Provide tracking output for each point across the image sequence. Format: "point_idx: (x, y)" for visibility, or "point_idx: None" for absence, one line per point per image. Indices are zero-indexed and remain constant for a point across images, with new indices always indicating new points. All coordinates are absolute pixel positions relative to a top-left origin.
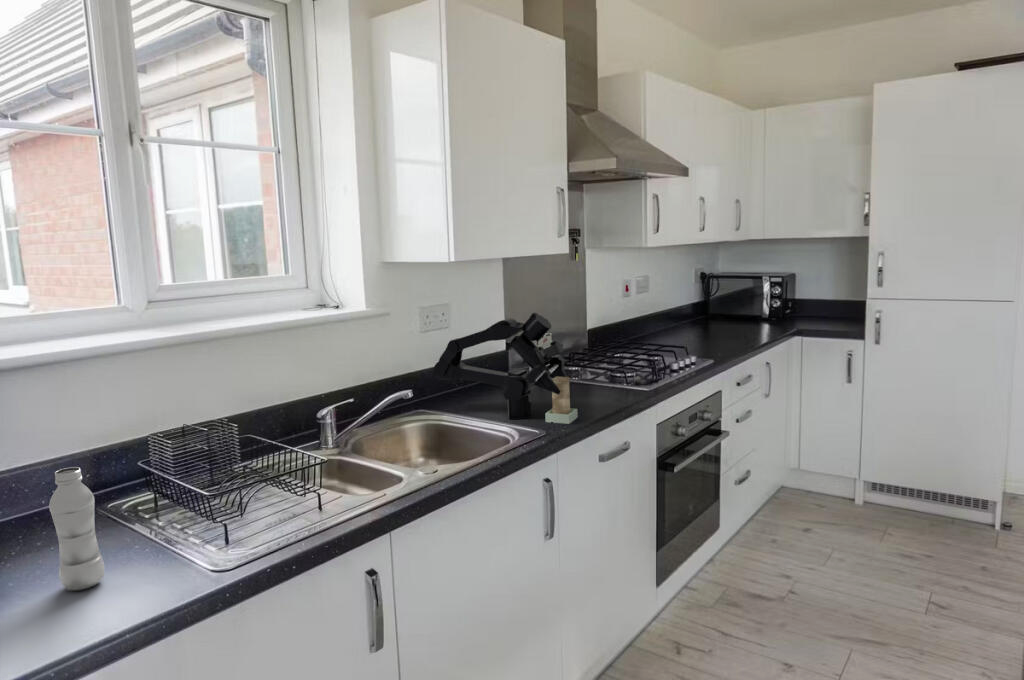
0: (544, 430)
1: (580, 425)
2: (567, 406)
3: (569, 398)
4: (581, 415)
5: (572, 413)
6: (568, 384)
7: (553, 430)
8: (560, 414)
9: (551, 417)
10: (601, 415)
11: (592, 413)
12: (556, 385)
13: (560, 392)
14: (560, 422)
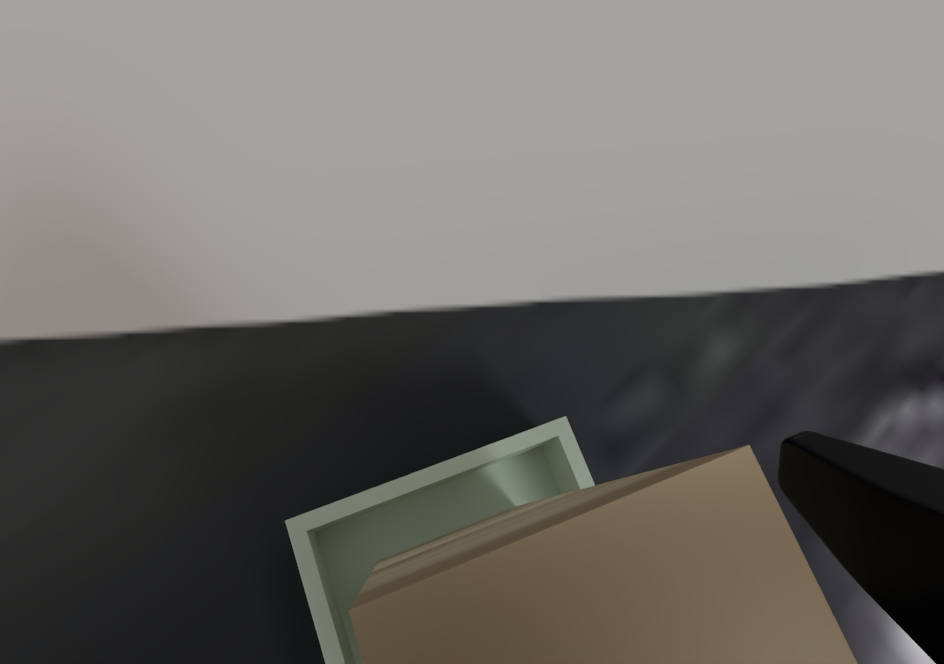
0: None
1: (518, 319)
2: (471, 528)
3: (383, 567)
4: (201, 545)
5: (459, 456)
6: (419, 565)
7: (780, 414)
8: None
9: None
10: (98, 364)
11: (60, 496)
12: (937, 508)
13: (789, 439)
14: None
